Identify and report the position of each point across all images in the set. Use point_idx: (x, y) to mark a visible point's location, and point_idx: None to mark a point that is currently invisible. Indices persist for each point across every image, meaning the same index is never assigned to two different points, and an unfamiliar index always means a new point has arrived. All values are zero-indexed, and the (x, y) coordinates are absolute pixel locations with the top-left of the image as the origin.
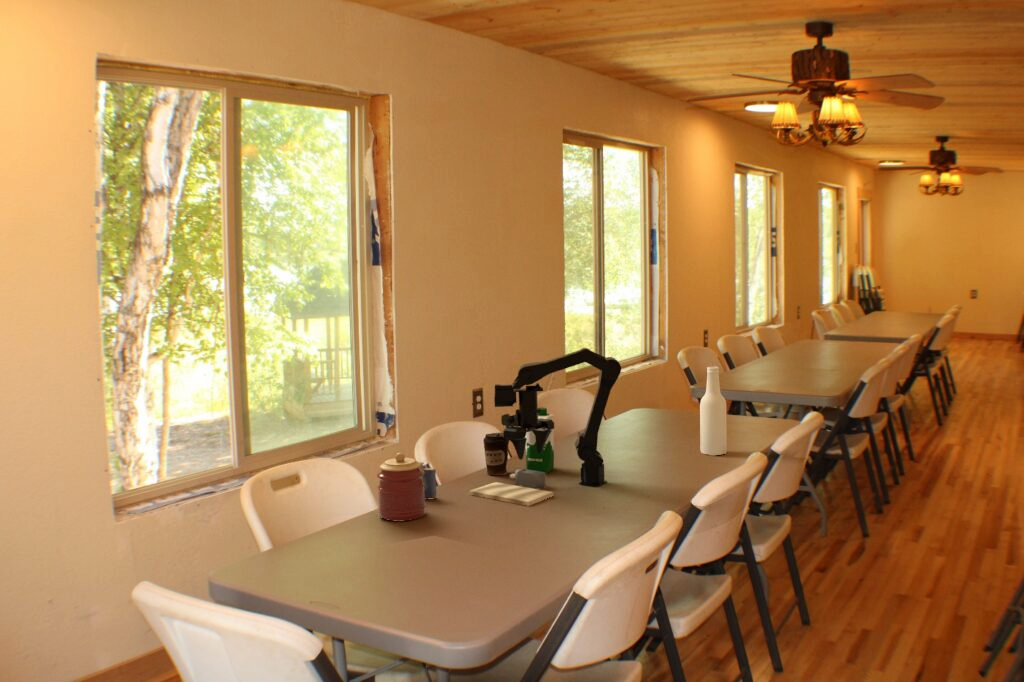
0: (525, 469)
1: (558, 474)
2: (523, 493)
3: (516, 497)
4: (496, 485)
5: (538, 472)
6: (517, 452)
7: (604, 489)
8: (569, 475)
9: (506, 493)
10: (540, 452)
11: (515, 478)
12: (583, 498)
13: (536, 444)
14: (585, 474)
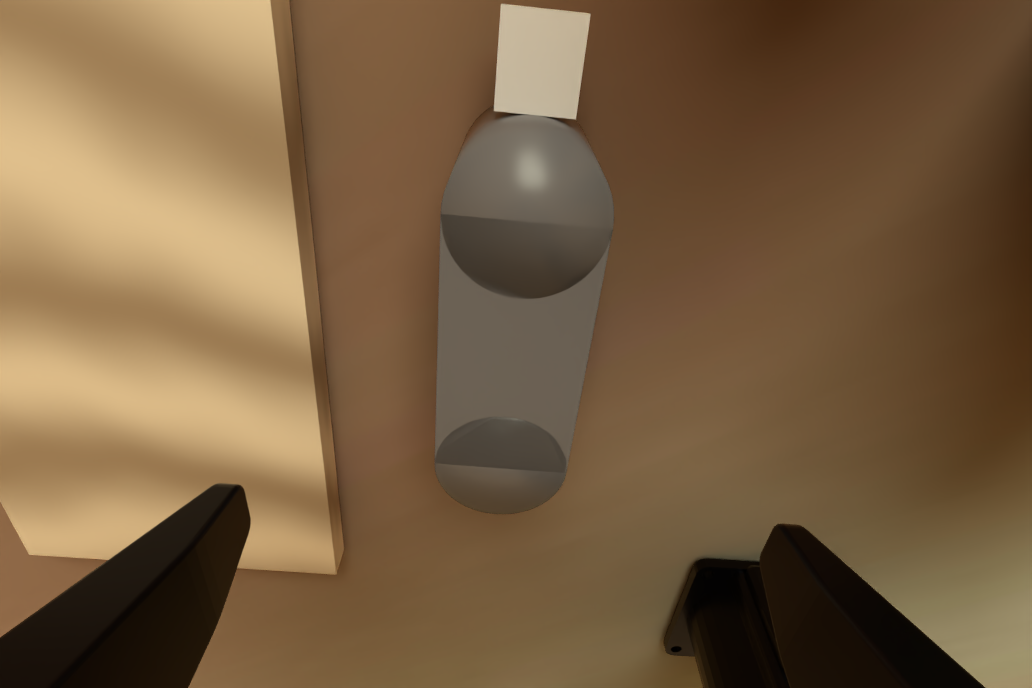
0: (590, 256)
1: (1019, 305)
2: (149, 440)
3: (24, 449)
4: (141, 30)
5: (523, 450)
6: (90, 599)
7: (637, 676)
8: (981, 402)
9: (24, 324)
10: (768, 581)
11: (476, 129)
12: (412, 665)
13: (880, 672)
14: (717, 663)
